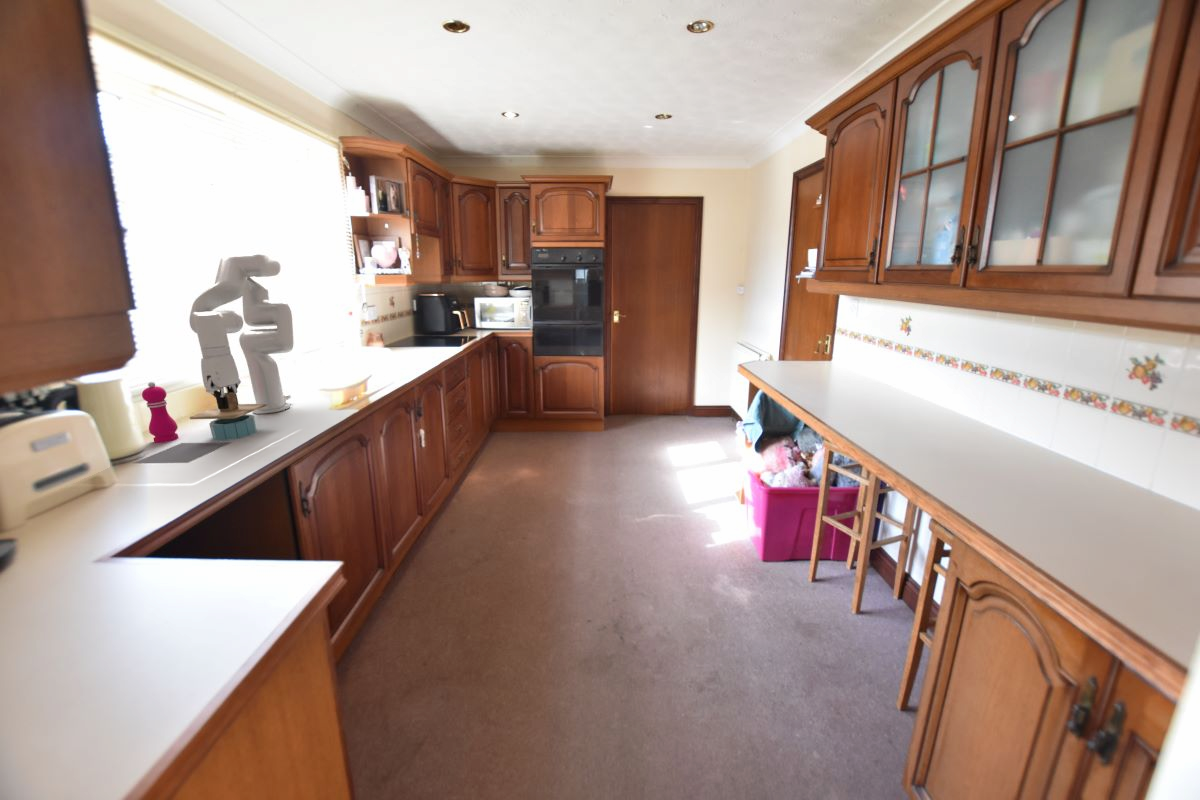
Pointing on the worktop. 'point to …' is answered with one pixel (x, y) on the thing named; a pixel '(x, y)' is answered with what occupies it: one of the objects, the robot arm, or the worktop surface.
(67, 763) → the worktop surface
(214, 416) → the lid
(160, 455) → the mat
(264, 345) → the robot arm
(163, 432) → the pepper mill
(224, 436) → the bowl
